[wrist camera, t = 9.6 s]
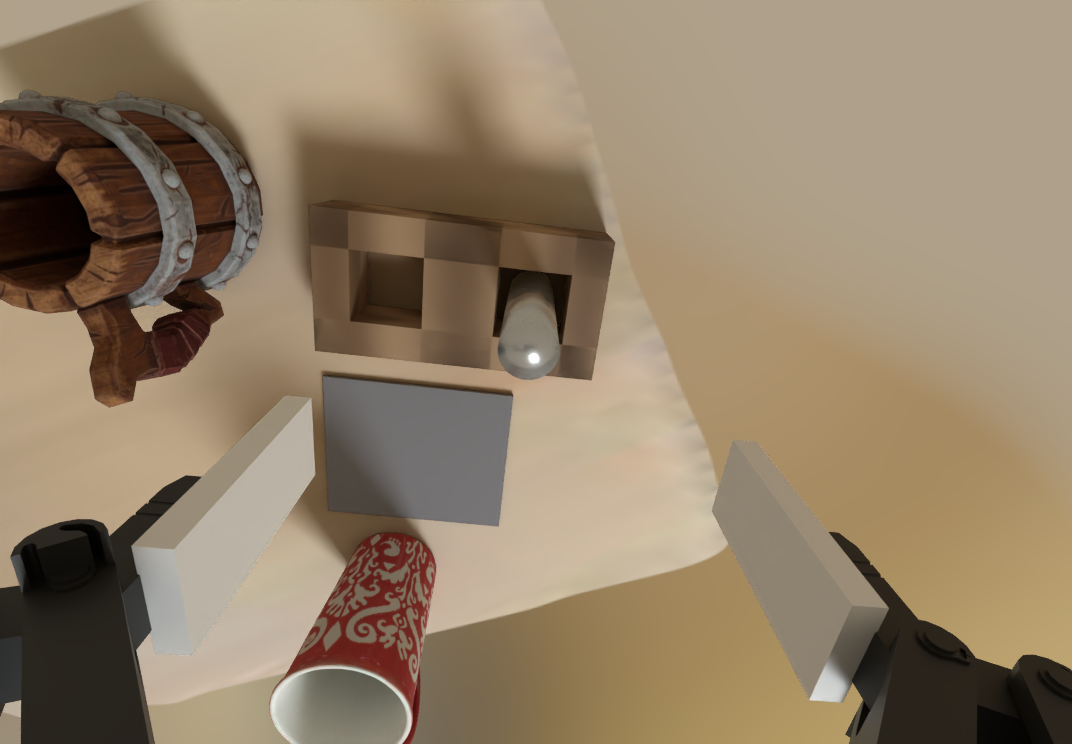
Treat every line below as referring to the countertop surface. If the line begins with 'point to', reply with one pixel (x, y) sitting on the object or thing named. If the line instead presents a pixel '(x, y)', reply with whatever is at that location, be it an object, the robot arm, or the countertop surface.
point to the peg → (529, 328)
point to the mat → (415, 450)
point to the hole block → (449, 284)
